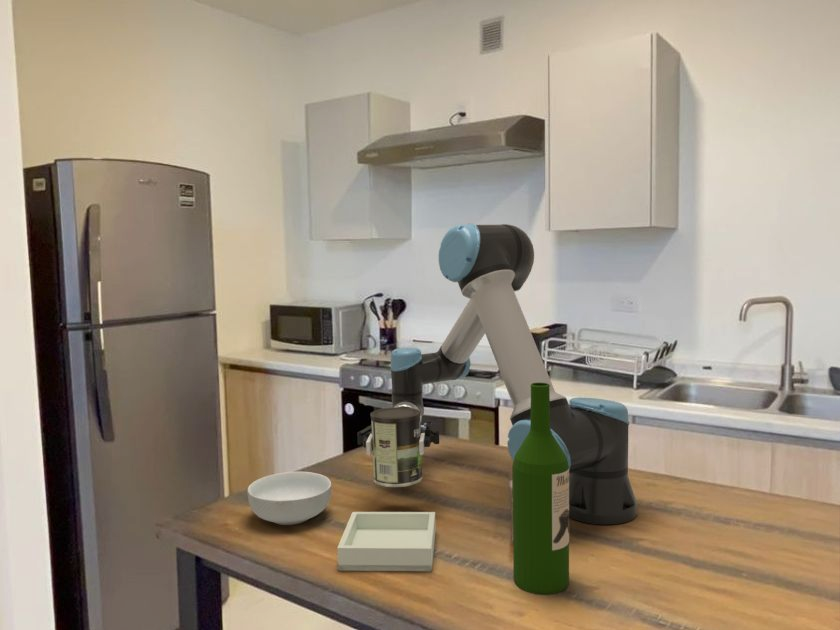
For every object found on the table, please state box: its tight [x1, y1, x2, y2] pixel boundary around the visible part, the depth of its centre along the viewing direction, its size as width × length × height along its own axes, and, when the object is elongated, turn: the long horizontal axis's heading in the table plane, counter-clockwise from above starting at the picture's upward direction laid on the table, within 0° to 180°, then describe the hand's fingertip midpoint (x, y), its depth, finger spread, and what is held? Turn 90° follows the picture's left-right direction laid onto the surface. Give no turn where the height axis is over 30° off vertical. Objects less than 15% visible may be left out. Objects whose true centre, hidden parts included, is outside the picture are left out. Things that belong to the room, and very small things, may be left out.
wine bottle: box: [512, 383, 570, 595], centre depth 109 cm, size 9×9×32 cm
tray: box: [336, 511, 436, 572], centre depth 123 cm, size 16×16×4 cm
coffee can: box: [370, 407, 423, 488], centre depth 140 cm, size 10×10×14 cm
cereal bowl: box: [246, 471, 332, 526], centre depth 139 cm, size 17×17×7 cm
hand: (394, 448), depth 136 cm, fingers closed on coffee can, 10 cm apart
